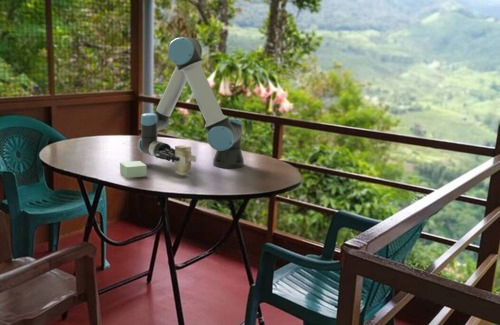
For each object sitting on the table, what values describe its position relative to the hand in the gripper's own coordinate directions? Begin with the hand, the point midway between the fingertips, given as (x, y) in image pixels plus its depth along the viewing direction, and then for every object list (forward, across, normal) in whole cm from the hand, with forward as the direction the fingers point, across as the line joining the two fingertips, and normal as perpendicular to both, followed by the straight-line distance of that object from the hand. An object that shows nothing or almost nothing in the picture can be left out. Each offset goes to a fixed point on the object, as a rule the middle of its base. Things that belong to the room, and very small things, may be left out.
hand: (190, 159), depth 221 cm
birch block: (-5, 0, -7) cm, 9 cm away
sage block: (-20, +16, -9) cm, 27 cm away
